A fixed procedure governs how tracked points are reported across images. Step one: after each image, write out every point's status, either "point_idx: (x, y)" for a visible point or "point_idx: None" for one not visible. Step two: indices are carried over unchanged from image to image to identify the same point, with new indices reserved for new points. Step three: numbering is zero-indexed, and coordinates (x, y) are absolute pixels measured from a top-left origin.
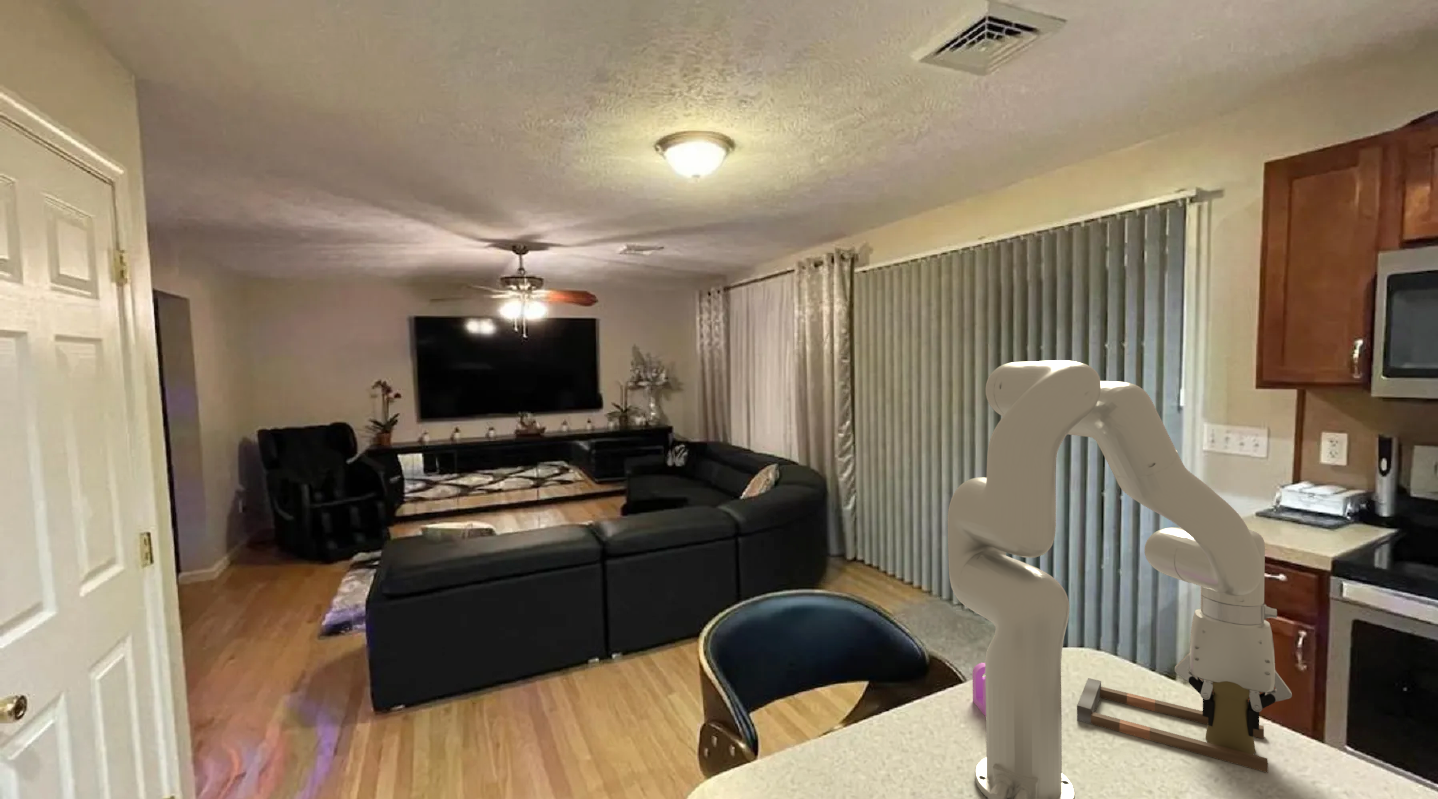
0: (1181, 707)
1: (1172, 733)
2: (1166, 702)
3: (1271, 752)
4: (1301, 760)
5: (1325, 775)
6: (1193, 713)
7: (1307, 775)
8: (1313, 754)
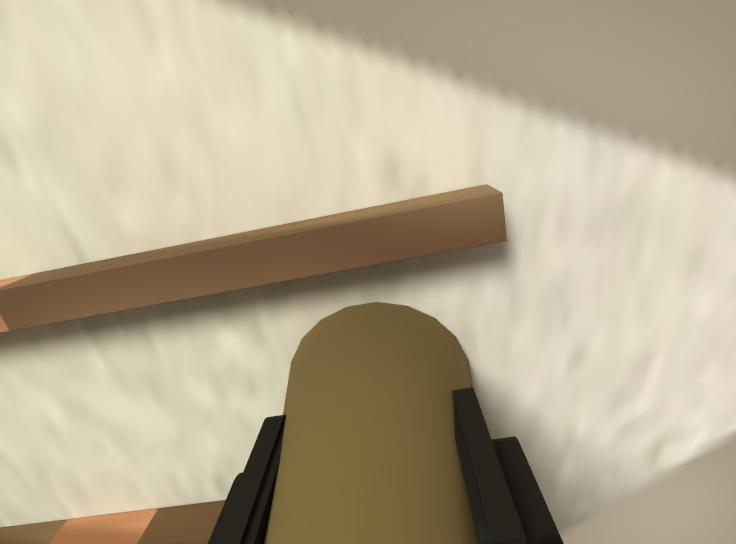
0: (114, 286)
1: (209, 538)
2: (38, 285)
3: (524, 333)
4: (635, 317)
5: (708, 376)
6: (182, 294)
7: (642, 419)
8: (696, 217)
